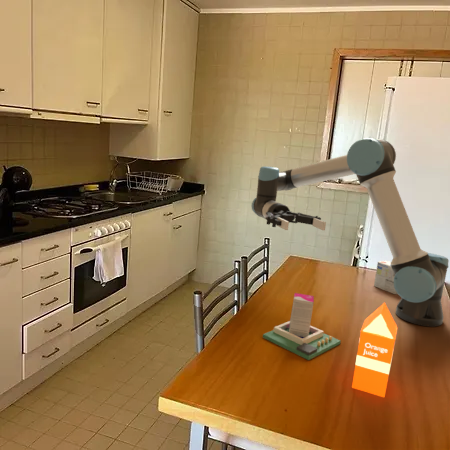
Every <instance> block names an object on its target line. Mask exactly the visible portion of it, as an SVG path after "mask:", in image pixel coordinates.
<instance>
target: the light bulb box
mask: <svg viewBox="0 0 450 450" xmlns="http://www.w3.org/2000/svg"><path fill="white" fill-rule="evenodd" d="M391 262H392V261H391V260H390V261H389V260H381V261H377V264H376V271H375V278H374V283H373V287H375V288H379V289H380V290H383V291H385V292H387V293H391V294H394V295H398V293H397V292H396V290H395V288H394V277H395V275H394V272H393V270H392V267H391Z"/></svg>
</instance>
